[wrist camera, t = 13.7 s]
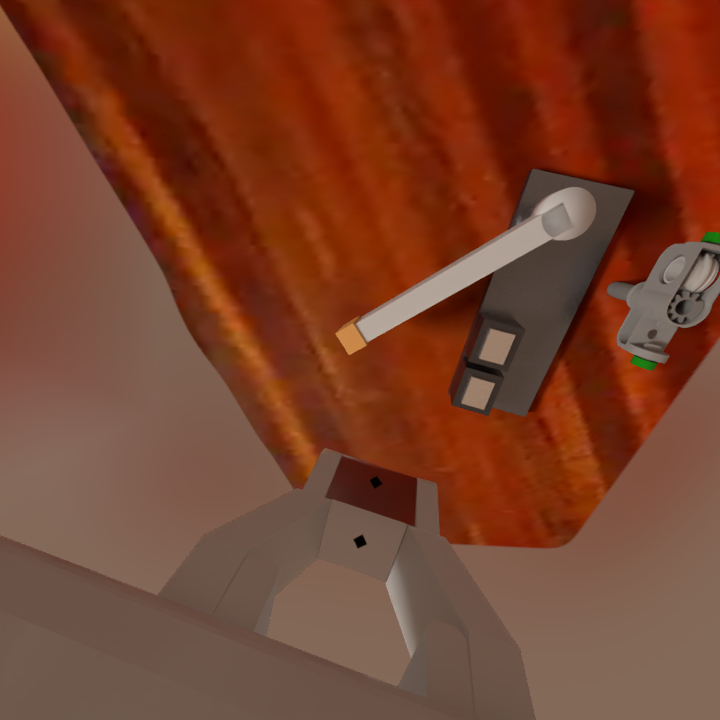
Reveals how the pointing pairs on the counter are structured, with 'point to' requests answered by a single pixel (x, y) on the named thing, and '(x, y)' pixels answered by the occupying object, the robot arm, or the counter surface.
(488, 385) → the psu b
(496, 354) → the block
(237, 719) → the robot arm
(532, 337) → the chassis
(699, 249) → the mechanical component
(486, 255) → the lever
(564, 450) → the counter surface
